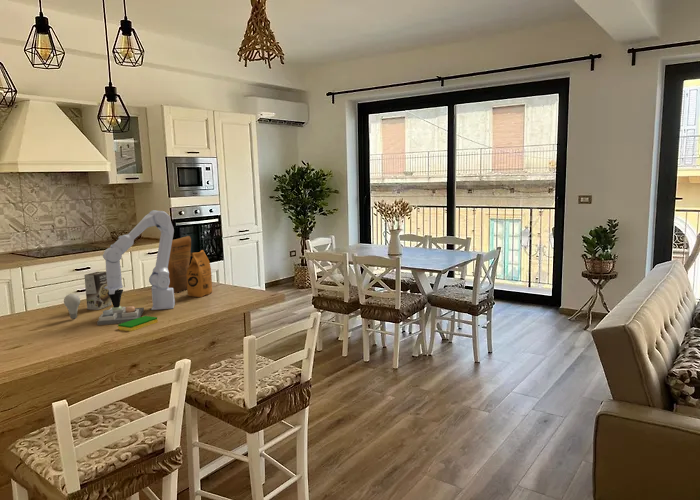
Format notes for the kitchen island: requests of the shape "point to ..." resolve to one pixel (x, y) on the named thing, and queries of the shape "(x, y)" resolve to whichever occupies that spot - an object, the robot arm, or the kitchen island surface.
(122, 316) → the button panel
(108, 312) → the slate button
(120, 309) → the sage button
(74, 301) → the lightbulb
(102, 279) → the coffee box
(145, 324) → the dish sponge
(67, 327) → the kitchen island surface
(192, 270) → the coffee package
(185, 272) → the pancake mix bag
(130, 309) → the terracotta button
